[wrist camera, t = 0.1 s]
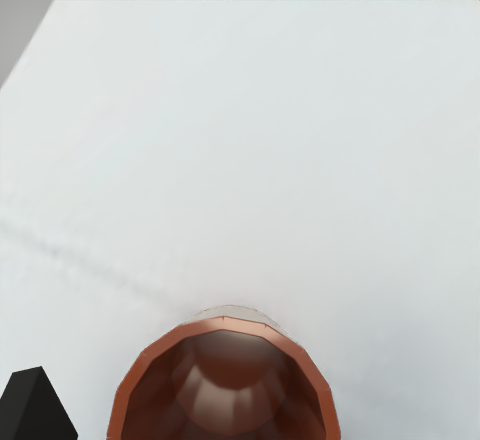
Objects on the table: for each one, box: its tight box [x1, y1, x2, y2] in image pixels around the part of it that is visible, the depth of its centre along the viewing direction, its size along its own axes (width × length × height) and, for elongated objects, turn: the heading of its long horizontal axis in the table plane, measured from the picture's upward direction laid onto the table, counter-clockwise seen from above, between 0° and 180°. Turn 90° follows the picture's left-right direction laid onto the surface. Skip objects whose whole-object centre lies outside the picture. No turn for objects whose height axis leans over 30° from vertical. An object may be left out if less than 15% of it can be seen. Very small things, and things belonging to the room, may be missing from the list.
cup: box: [106, 305, 341, 440], centre depth 21 cm, size 8×8×12 cm
